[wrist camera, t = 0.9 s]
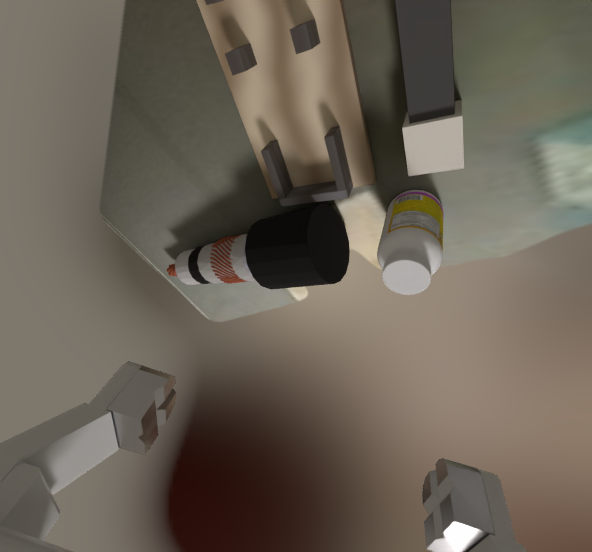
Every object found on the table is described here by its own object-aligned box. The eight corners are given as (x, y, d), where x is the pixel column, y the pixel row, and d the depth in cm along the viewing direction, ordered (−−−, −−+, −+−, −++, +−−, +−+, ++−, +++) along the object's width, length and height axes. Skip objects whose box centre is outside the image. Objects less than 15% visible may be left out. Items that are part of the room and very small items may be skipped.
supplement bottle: (419, 242, 47) (410, 311, 38) (377, 216, 46) (359, 280, 37) (456, 206, 42) (457, 276, 33) (410, 176, 41) (398, 239, 33)
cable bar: (454, -131, 26) (454, -143, 22) (463, 148, 38) (464, 168, 34) (382, -97, 28) (372, -103, 25) (412, 157, 40) (408, 176, 37)
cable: (186, 239, 68) (139, 248, 60) (340, 201, 48) (299, 207, 40) (200, 289, 69) (155, 305, 61) (355, 272, 49) (318, 293, 41)
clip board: (323, -104, 29) (308, -110, 26) (376, 179, 43) (370, 196, 40) (190, -33, 35) (166, -32, 32) (275, 194, 49) (264, 210, 46)
